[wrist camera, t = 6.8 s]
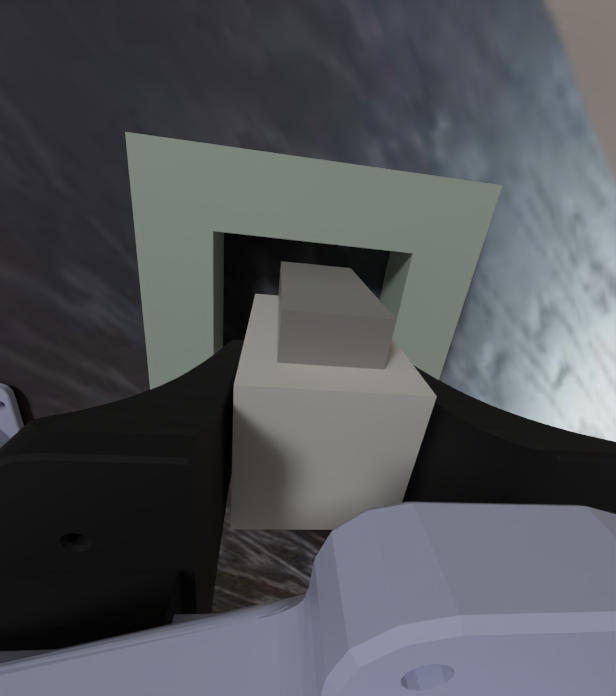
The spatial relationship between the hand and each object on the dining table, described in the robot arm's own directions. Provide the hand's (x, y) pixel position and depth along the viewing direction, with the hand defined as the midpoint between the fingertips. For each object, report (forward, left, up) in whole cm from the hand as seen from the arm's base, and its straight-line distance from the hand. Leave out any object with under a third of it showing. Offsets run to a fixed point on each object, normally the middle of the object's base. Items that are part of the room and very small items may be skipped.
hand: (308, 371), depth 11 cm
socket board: (0, 0, -4) cm, 4 cm away
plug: (0, 0, -2) cm, 2 cm away
